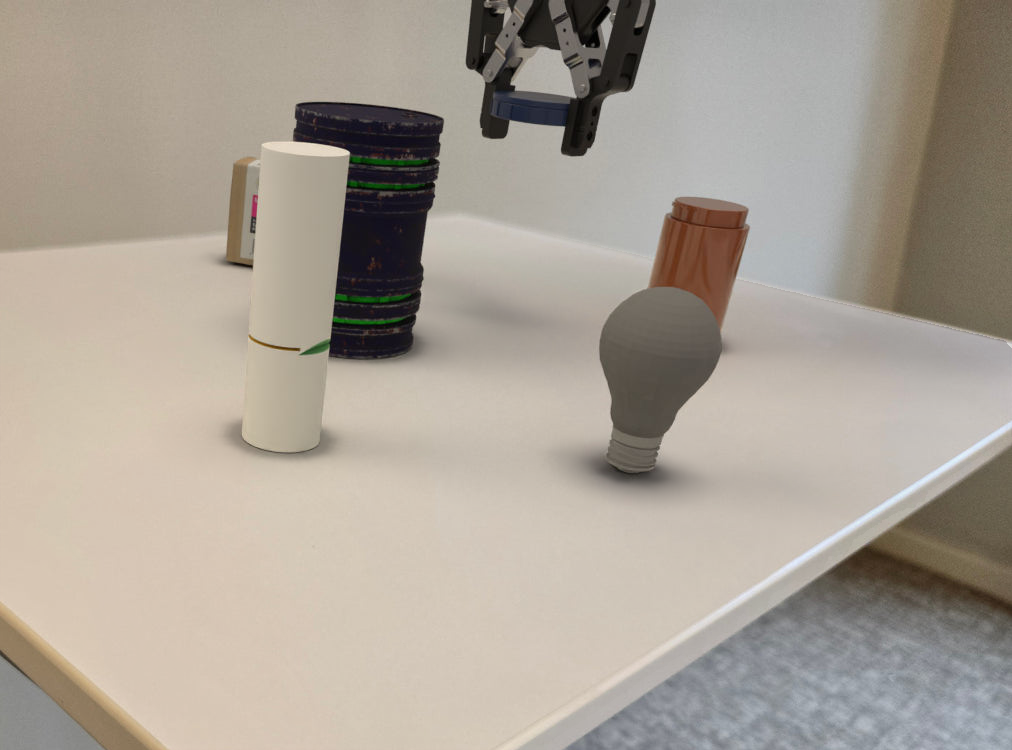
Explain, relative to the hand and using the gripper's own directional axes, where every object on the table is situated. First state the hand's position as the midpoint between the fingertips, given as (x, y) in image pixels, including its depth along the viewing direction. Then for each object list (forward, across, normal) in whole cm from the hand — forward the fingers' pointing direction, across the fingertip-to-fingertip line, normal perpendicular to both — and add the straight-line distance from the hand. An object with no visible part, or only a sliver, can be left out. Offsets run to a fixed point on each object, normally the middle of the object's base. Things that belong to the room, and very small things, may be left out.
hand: (532, 145), depth 78 cm
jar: (+13, +10, +9) cm, 19 cm away
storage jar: (+13, -2, -15) cm, 20 cm away
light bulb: (+13, +23, -17) cm, 31 cm away
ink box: (+13, -19, -6) cm, 24 cm away
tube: (+13, +10, -31) cm, 35 cm away
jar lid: (-3, 0, 0) cm, 3 cm away
